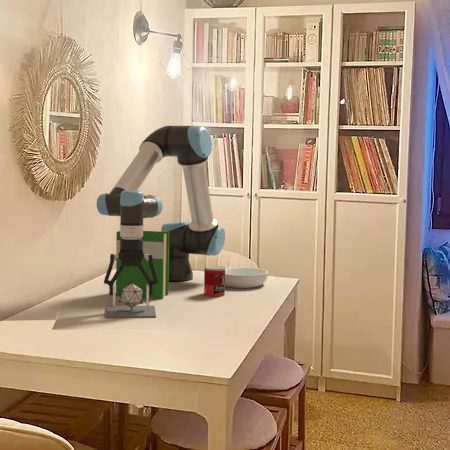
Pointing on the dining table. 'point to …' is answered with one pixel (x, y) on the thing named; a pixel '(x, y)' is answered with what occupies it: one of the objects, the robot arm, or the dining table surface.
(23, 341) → the dining table surface
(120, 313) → the mat
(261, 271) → the serving bowl
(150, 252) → the hardback book
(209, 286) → the canned food
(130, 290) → the game die
